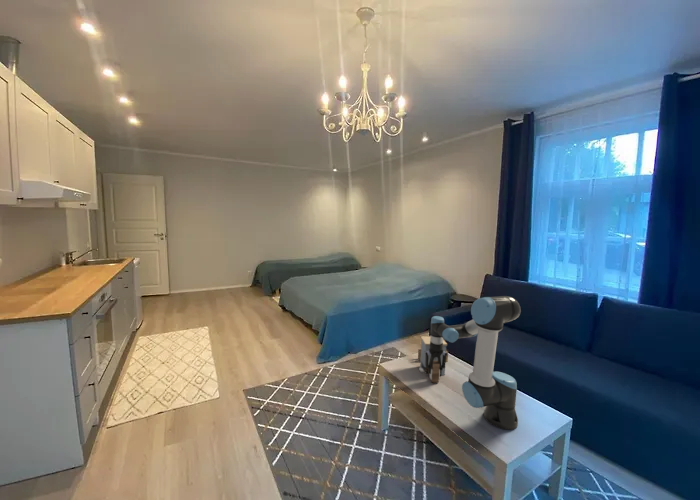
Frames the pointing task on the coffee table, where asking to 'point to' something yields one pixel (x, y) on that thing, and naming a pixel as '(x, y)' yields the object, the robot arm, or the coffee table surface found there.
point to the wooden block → (435, 372)
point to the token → (423, 369)
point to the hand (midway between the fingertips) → (434, 378)
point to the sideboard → (425, 347)
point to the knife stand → (420, 355)
